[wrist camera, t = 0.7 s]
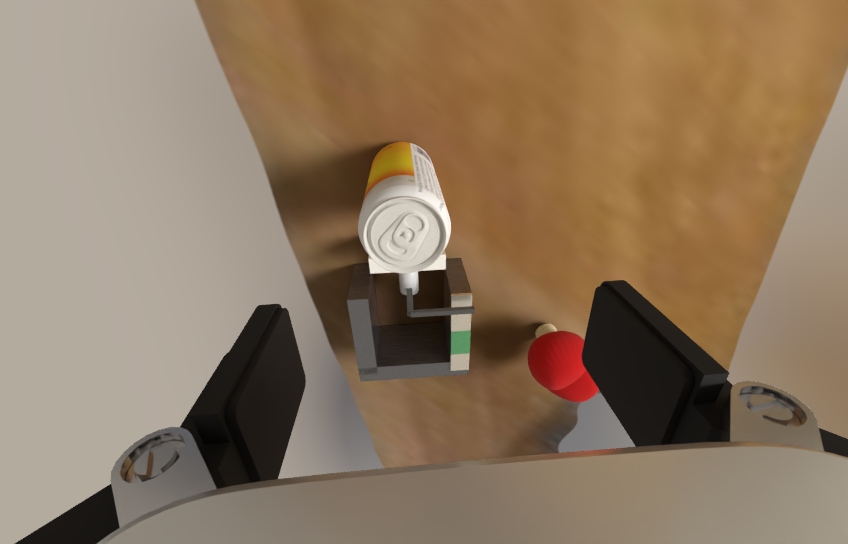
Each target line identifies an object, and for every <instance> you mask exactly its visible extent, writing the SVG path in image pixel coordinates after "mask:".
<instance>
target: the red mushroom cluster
mask: <svg viewBox="0 0 848 544" xmlns="http://www.w3.org/2000/svg"><path fill="white" fill-rule="evenodd" d="M535 335H536V338H537V339H536V340H535V341H534V342H533V343H532V345H531V347H530V349H529V352H528V365H529V369H530V371H531V373H532V375H533V377H534V378H535V379H536V380H537V381H538V382H539V383H540V384H541V385H542V386H544V387H545V388H547V389H548V390H549V391H551V392H552V393H554V394H555V395H557V396H559V397H561V398H563V399H566V400H568V401H572V402H583V401H586V400H588V399H590V398H591V397H593V396H594V395H595V394H596V393H597V392H598V390H599V389H598V387H597V386H596V384H595V382H594V381H593V379H592V378H591V376H590V375H589V373H588V372H587V370H586V369H585V367H584V365H583V362H582V351H583V346H584V340H583V339H582V338H581V337H580V336H578V335H577V334H574V333H571V332H567V331H557V330H556V328H555V326H553V325H551V324H544V325H541V326H540V327H538V328H537V330H536V332H535Z"/></svg>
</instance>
